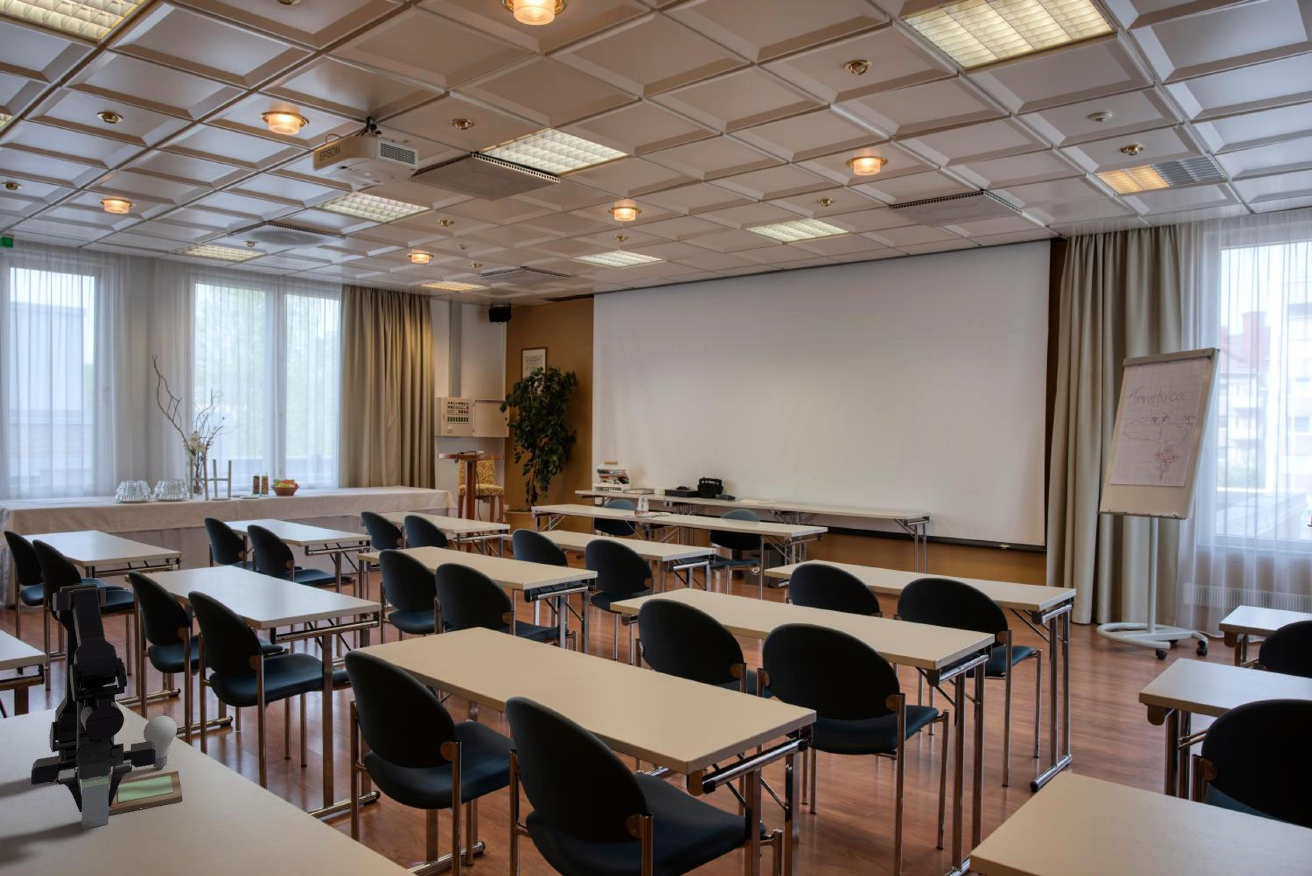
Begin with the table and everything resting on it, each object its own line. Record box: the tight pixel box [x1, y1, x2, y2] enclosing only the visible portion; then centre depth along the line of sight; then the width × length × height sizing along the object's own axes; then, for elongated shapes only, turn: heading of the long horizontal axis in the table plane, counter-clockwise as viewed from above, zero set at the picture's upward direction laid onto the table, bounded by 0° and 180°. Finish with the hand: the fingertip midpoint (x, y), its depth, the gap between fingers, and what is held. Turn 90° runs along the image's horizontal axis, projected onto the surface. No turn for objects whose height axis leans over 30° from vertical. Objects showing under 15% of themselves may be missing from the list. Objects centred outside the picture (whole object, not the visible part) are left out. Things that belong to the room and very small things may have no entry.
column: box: [81, 774, 110, 830], centre depth 156 cm, size 4×4×9 cm
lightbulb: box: [143, 715, 178, 770], centre depth 180 cm, size 6×6×11 cm
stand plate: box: [109, 770, 183, 816], centre depth 168 cm, size 14×12×1 cm
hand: (95, 808), depth 156 cm, fingers closed on column, 4 cm apart
